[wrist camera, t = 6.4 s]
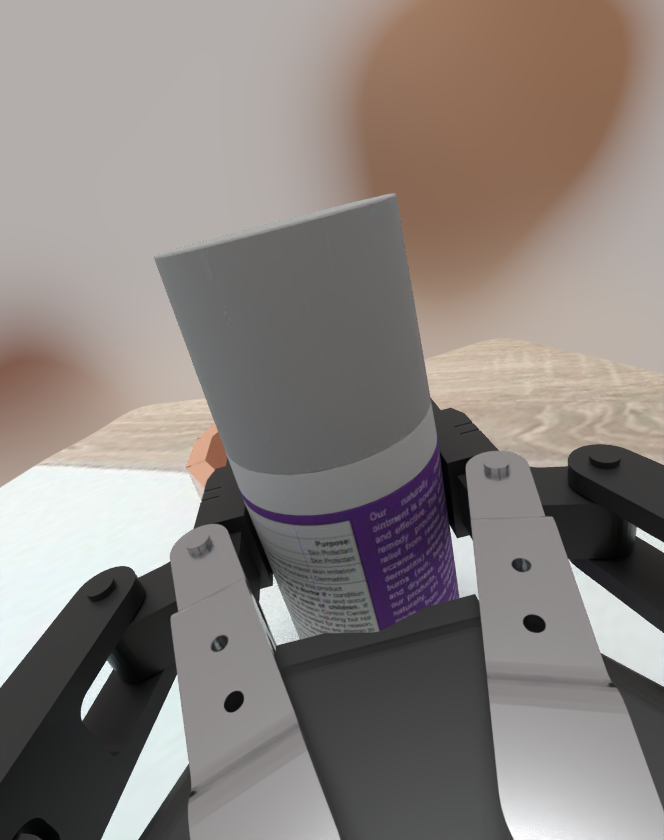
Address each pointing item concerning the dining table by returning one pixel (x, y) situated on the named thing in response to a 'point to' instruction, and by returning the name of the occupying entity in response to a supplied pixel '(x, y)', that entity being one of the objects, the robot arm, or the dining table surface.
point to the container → (323, 409)
